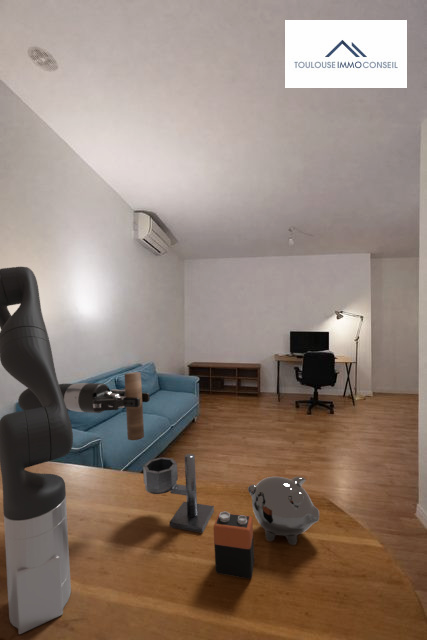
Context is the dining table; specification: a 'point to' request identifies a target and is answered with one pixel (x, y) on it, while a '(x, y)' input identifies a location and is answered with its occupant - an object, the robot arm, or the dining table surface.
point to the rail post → (134, 413)
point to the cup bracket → (178, 491)
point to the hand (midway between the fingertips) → (143, 399)
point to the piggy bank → (283, 507)
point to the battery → (234, 545)
